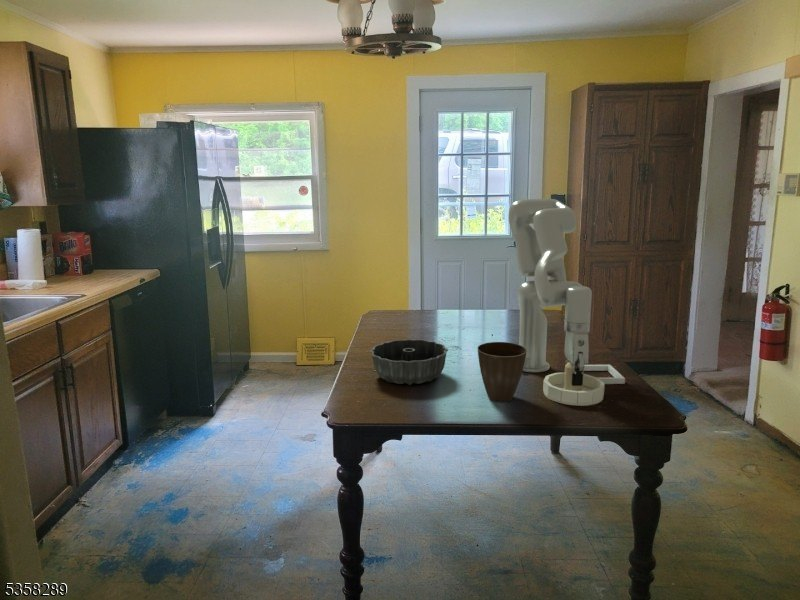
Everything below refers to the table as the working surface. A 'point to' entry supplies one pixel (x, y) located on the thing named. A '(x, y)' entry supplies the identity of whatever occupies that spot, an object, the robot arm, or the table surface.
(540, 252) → the robot arm
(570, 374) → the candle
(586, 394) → the bowl
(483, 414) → the table surface
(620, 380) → the white square frame
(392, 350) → the bundt pan
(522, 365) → the plant pot
